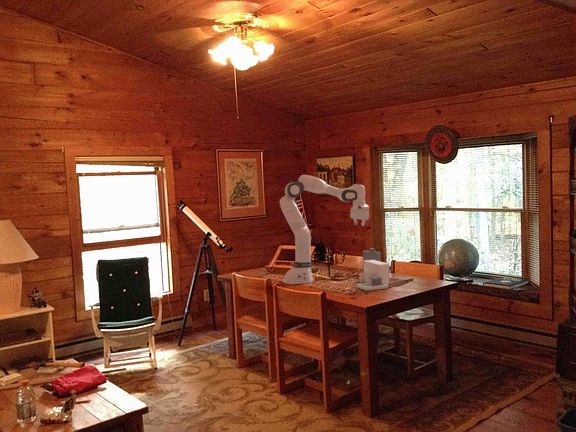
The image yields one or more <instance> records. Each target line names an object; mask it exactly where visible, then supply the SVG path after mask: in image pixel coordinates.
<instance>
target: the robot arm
mask: <svg viewBox="0 0 576 432" xmlns="http://www.w3.org/2000/svg"><path fill="white" fill-rule="evenodd" d="M297 180H298V181H291V182H289V183H287V185H286V186H285V187H284V196H283V197H281V198H280V200H279V206H280V209H281V211H282V213H283V215H284V218H285V220H286V222H287V223H288V225H289V227H290V229H291V231H292V233H293V234H294V243H295V244H294V245H295V247H294V248H295V249H294V251H295V252H294V253H295V258H294V259H295V261H294V262H293V261H291V262H290V265H291V266H292V267H291V268H290V269H289V270H288V271H287V272H286V273H285V275H284V276H285V277H284V279H282V281H281V282H282V283H284V284H286V285H298V284H299V285H301V284H311V282H313V281H314V278H313V275H312V260H311V259H312V258H311V257H312V255H311V254H312V252H311V249H312V248H311V247H312V245H311V244H312V242H311V240H312V239H311V238H312V235H311V231H310V229H309V227H308V225H307V223H306V222H305V219H304V218H303V215H302V212H300V209H299V208H298V206H297V203H296V198H297V197H300V196H301V194H302V193H303V192H304V191H306V192H311V193H314V194H320V195H321V194H327V195H329V196H334V197H336V198H337V199H338V200H340V202H345V203H350V202H352V206H351V209H350V213H349V215H350V218H351V219H352V220H353V222H354V223H353V225H355V226H356V225H358V221H357V220H361V221H362V222H361V227H362V226H363V227H364V226H365V223H366V221H368V220H369V218H370V210H369V209H370V206H369V205H368V204H367V203H366V189H365V185H363V184H360V183H354V184H352V186H349V187H336V186H333V185H329V184H328V183H327V182H326V181H325V180H323V179H321V178H319V177H317V176H313V175H308V174H302V175H300V176H299V178H298V179H297Z"/></svg>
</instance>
